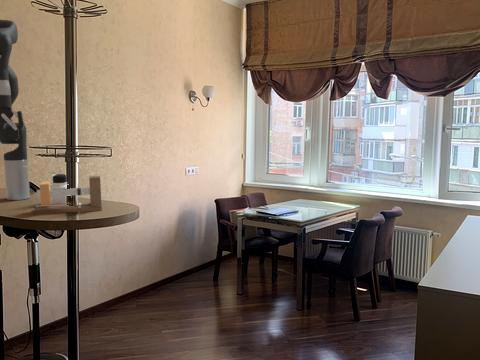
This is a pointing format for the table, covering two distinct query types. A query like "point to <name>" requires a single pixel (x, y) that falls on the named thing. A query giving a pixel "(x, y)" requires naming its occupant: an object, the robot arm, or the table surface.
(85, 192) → the pipe
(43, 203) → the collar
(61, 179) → the medicine bottle
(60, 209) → the stand
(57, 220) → the table surface
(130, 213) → the table surface
